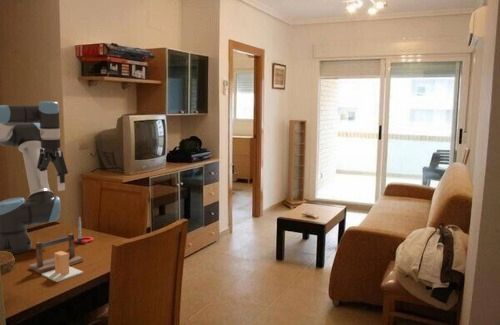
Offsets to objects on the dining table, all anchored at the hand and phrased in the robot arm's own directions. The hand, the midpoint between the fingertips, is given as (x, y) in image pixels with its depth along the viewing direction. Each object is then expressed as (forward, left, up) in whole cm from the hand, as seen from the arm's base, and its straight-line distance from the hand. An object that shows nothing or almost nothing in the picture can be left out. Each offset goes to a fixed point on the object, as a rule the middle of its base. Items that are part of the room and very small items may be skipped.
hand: (52, 188), depth 184 cm
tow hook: (-11, +20, -31) cm, 39 cm away
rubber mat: (+19, -9, -31) cm, 37 cm away
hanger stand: (+8, -5, -31) cm, 32 cm away
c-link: (+19, -9, -30) cm, 37 cm away
